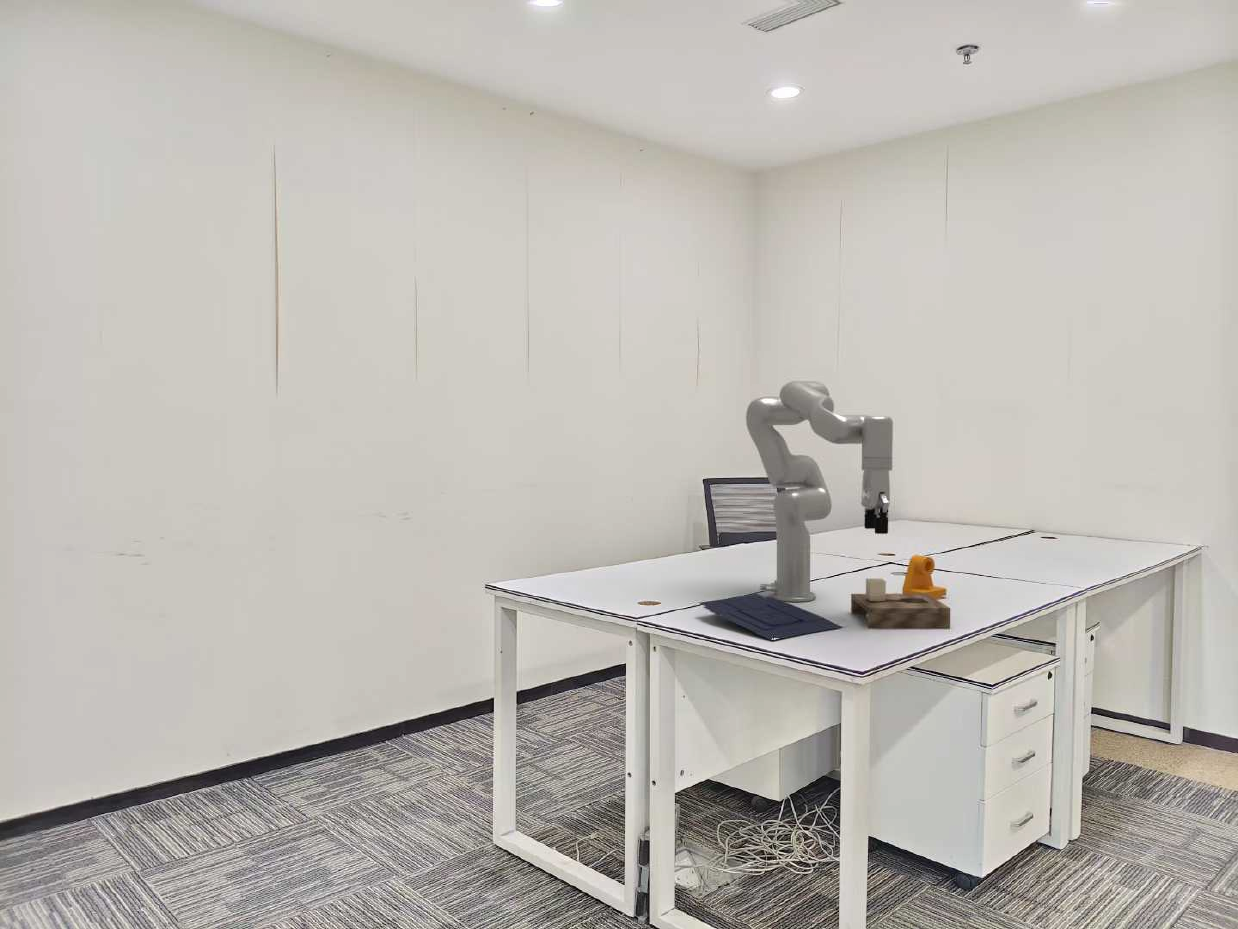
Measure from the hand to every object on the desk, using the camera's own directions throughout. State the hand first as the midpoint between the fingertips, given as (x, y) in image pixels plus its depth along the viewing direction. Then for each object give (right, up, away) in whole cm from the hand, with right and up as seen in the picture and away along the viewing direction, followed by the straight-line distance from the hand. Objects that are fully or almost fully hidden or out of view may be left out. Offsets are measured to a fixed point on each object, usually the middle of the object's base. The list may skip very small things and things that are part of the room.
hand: (875, 531), depth 229 cm
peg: (0, -23, +1) cm, 23 cm away
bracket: (+22, -22, +29) cm, 43 cm away
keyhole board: (+6, -23, +1) cm, 24 cm away
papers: (-28, -24, -1) cm, 37 cm away
